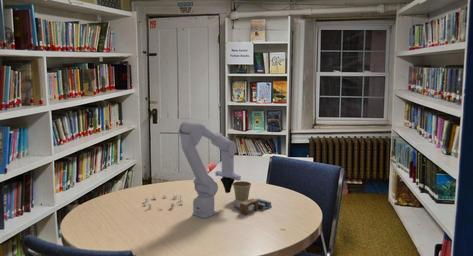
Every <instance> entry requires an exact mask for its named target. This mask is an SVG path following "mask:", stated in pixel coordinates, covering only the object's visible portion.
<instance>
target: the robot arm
mask: <svg viewBox="0 0 473 256" xmlns="http://www.w3.org/2000/svg"><path fill="white" fill-rule="evenodd" d="M177 132H178V135H179V136H180V144H181V149H182V151H183V154H184V156H185V158H186V161H187V162H188V165H189V167H190V169H191V171H192V173H193V175H194V177H195V178H194V179H193V184H194V190H195V191H196V194H197V196H196V197H195V198H194V199H193V203H192V206H193V207H192V208H193V209H192V210H193V212H192V213H191V214H192V215H193V216H196V217H199V218H202V219H205V218H209V217H211V216H214V215H216V214H219V211H217V210H215V196H216V194H217V193H218V190H219V185H218V183H217V182H216V181H215V180H214V178H213V177H212V176H210V175H209V174H208V172H207V170H206V167H205V165H204V163H203V161H202V159H201V156H200V153H199V151H198V149H197V147H196V146H198V144H199V143H200V140H201V139H202V137H204V138H206V139H208V140H210V143H211V145H213V146H215V147H216V148H218V149H219V152H220V151H221V171H220V170H216V171H215V172H214V173H215V177H218V176H219V177H221V178H220V181H221V183H222V186H223V188H224V192H225V193H226V194H230V193H231V191H232V188H233V187H232V186H233V185H232V184H233V183H234V182H235V181H236V182H238V181H241V178H242V177H241V176H240V175H238V174H236V173H235V171H234V169H235V167H234V166H235V165H234V164H235V163H234V162H235V161H234V160H235V159H234V157H235V154H236V153H235V152H236V150H237V144H236V142H235V141H234V140H230V139H229V138H228V137H226V136H224V135H223V133H221V132H217V133H215V132H213V131H212V130H210V129H208V128H207V127H206V125H204V124H202V123H197V122H196V123H195V122H188V121H183V122H181V124H180V125H179V129H178V131H177Z"/></svg>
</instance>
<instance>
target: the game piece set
mask: <svg viewBox="0 0 473 256" xmlns="http://www.w3.org/2000/svg"><path fill="white" fill-rule="evenodd" d="M152 195H153V196H152V199H153V200H156V199H157V196H155V194H152ZM172 198H173V200H178V203H179V204H178V206H182V205H183V203H182V202H183V199H182V195H181V194H180V195H179V198H178V195H175V194H174V192H172ZM149 199H150V198H149V197H145V198H144V203H143V207H146V206H147V203H148V209H149V210H151V209H152V203H151V202H149ZM162 199H167V194H163V197H162ZM174 206H175V202H171V203H170V206H169V207H170V209H174ZM157 209H158V210H159V211H163V209H162V208H159V207H157Z"/></svg>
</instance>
